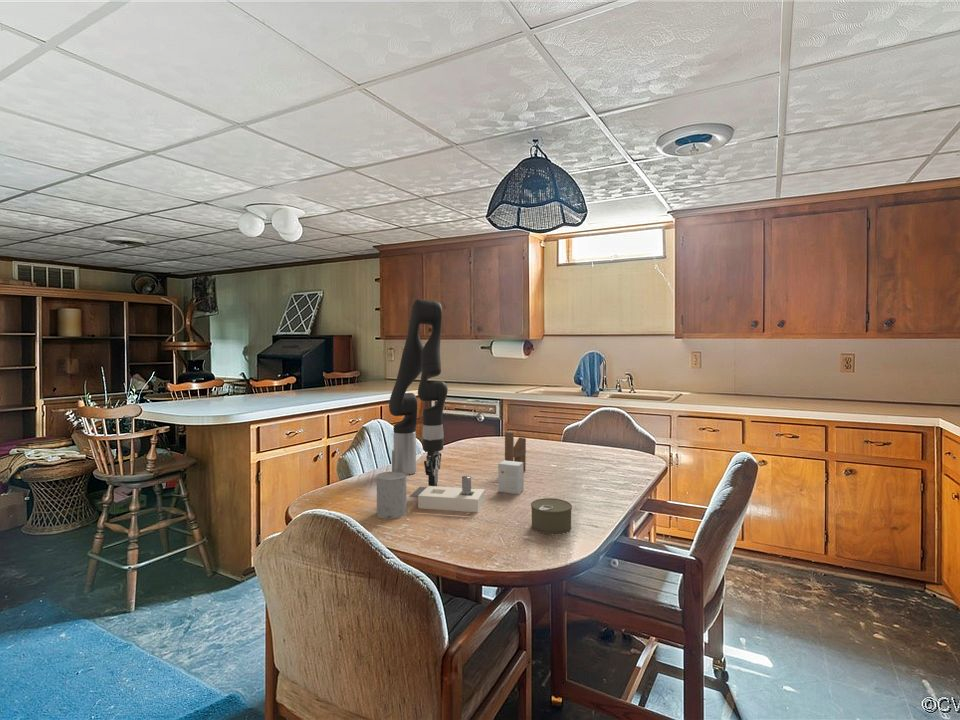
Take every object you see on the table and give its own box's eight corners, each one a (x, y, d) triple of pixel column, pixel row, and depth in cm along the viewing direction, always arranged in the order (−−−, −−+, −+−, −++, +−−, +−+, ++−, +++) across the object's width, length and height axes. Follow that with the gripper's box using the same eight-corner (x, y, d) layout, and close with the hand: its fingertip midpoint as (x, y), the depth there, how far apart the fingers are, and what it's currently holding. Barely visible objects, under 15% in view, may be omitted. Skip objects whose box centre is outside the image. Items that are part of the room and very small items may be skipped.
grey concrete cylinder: (392, 521, 152) (392, 481, 151) (370, 515, 157) (369, 476, 156) (413, 511, 160) (412, 474, 159) (390, 506, 165) (390, 470, 164)
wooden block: (525, 471, 208) (526, 429, 208) (509, 476, 200) (509, 432, 200) (518, 470, 211) (519, 428, 210) (502, 475, 203) (502, 431, 202)
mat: (409, 497, 174) (409, 496, 174) (419, 487, 186) (419, 486, 186) (447, 500, 171) (447, 499, 171) (456, 490, 183) (456, 489, 183)
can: (579, 526, 147) (579, 504, 147) (557, 539, 138) (557, 514, 138) (545, 517, 155) (545, 495, 155) (522, 528, 146) (522, 505, 146)
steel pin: (427, 493, 177) (427, 466, 177) (430, 491, 180) (430, 464, 180) (435, 494, 176) (435, 466, 176) (438, 491, 179) (438, 464, 179)
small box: (523, 490, 182) (524, 462, 182) (518, 494, 177) (518, 465, 177) (503, 487, 186) (503, 459, 185) (498, 491, 181) (498, 463, 180)
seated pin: (461, 507, 163) (461, 477, 163) (463, 504, 166) (463, 475, 166) (470, 508, 163) (470, 478, 162) (472, 505, 166) (472, 476, 165)
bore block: (418, 509, 162) (418, 495, 162) (428, 498, 173) (428, 485, 173) (477, 513, 158) (477, 499, 158) (484, 502, 169) (484, 489, 169)
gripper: (428, 432, 185) (429, 478, 186) (416, 440, 171) (416, 489, 172) (448, 433, 184) (448, 479, 184) (437, 441, 170) (437, 490, 170)
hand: (433, 484), depth 178 cm, fingers closed on steel pin, 3 cm apart
